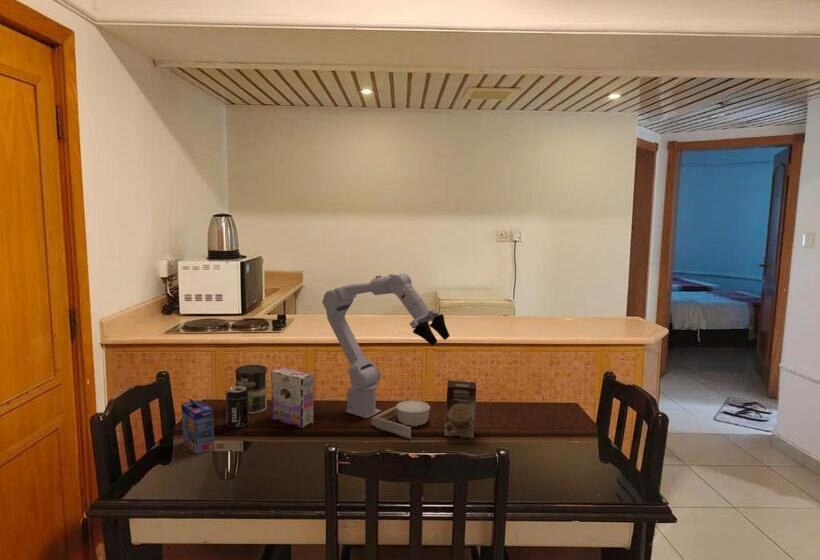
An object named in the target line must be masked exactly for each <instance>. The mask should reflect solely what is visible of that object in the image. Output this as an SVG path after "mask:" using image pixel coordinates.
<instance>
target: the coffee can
mask: <svg viewBox="0 0 820 560" xmlns="http://www.w3.org/2000/svg"><path fill="white" fill-rule="evenodd" d="M267 371H268V369H267V366H265V365H261V364H246V365H241V366H238V367H236V369H235V386H244V387H246V390H247V391H248V394H249V415H254V414H258V413H262V412H264V411H266V410H267V408H268V407H267V401H268V400H267V398H268V397H267V396H268V395H267V393H268V392H267V390H268V389H267Z"/></svg>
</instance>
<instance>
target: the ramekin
mask: <svg viewBox="0 0 820 560" xmlns="http://www.w3.org/2000/svg"><path fill="white" fill-rule="evenodd" d="M395 406H396V410H397V420H398V422H399V423H400V422H401V423H402V424H401V423H400V424H401V425H403V424H405V426H406V425H411V426H410V427H419V426H418V425H421V426H423V425H422V424H424V425H425V424H426V423H427V422H428V420H429V415H430V411H431V406H430V404H428V403H427V402H425V401H420V400H404V401H400V402H398V403H397V404H396V405H395Z"/></svg>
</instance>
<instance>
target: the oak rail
mask: <svg viewBox="0 0 820 560" xmlns="http://www.w3.org/2000/svg"><path fill="white" fill-rule="evenodd" d="M396 415H397V410H396V405H395V406H393V407H390V408H388V409H387V410H385V411H381V413H380V412H379V413H377V414H375V415H373V417H372V416H371V418H370V426H371V425H375V424H376V418H377V417H378V418H382V419H385V420H387V419H389V418H391V417H393V418H394V416H395V417H397V416H398V415H397V416H396ZM391 419H392V418H391ZM389 420H390V419H389Z"/></svg>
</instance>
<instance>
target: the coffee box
mask: <svg viewBox="0 0 820 560" xmlns="http://www.w3.org/2000/svg"><path fill="white" fill-rule="evenodd" d="M446 387H447V389H446V404H445V420H444V421H445V422H444V436H445V437H453V436H460V437H459V438H466V437H468V439H469V438H470V439H474V438H475V437H474V436H475V435H474V433H475V421H476V420H475V419H476V418H475V416H476V403H477V402H476V399H477V397H476V396H477V384H476V382H475V381H465V380H464V381H463V380H453V379H452V380H451V379H450V380H447V386H446Z"/></svg>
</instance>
